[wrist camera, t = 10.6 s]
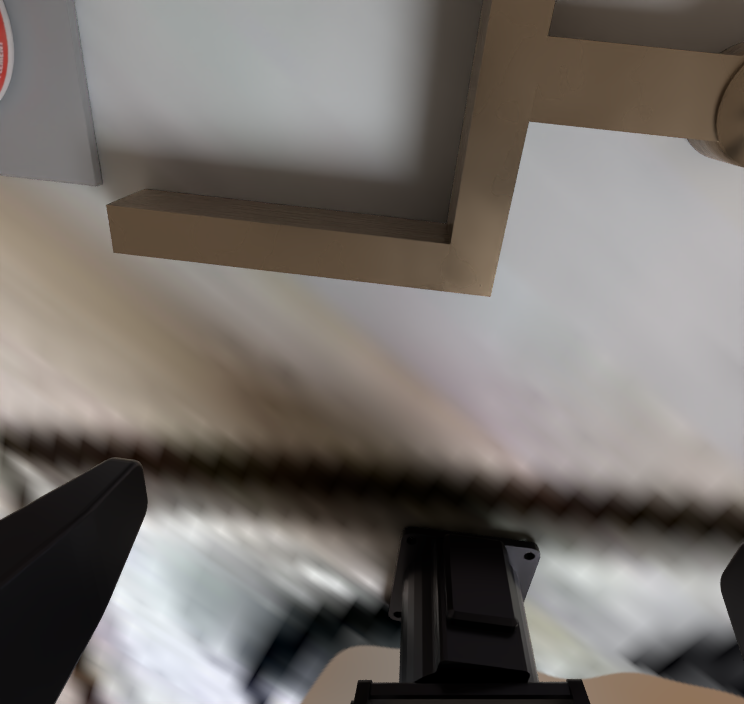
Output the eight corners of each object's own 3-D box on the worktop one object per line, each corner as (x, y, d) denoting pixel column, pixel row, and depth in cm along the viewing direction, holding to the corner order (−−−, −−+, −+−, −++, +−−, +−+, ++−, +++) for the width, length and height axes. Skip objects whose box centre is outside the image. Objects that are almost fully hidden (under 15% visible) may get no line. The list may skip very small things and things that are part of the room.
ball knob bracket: (712, 296, 18) (752, 327, 16) (149, 231, 19) (113, 252, 16) (918, -169, 12) (1028, -222, 10) (94, -245, 13) (27, -311, 11)
